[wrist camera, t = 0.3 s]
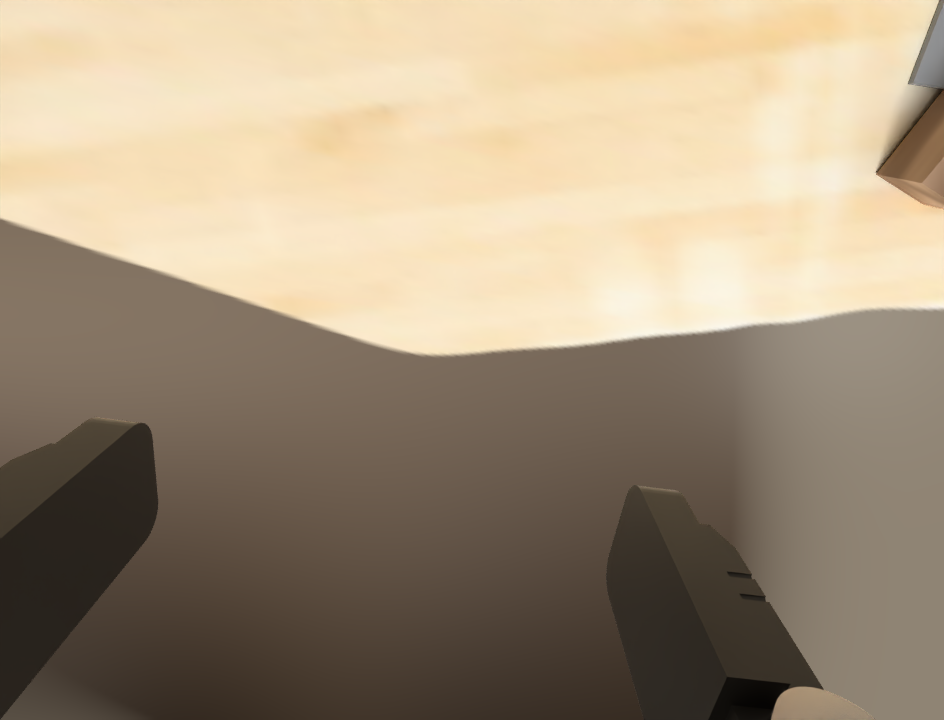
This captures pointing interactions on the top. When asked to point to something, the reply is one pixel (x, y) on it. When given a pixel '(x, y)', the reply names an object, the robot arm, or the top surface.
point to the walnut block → (921, 159)
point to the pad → (931, 55)
